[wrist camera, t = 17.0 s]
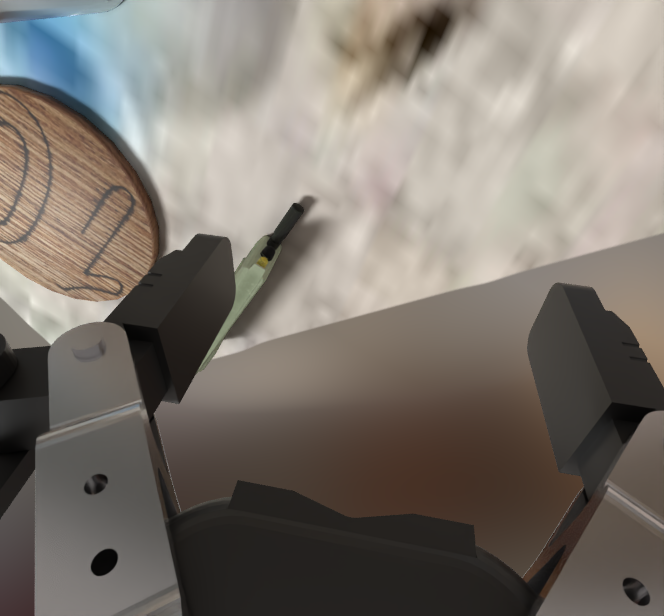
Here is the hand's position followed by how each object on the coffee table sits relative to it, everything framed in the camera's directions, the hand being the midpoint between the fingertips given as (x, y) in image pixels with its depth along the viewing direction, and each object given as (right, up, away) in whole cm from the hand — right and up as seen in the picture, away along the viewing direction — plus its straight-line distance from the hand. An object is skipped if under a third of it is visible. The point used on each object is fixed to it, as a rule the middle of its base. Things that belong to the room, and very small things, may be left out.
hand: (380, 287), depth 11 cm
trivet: (-33, +12, +38) cm, 51 cm away
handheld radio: (-11, +3, +39) cm, 41 cm away
